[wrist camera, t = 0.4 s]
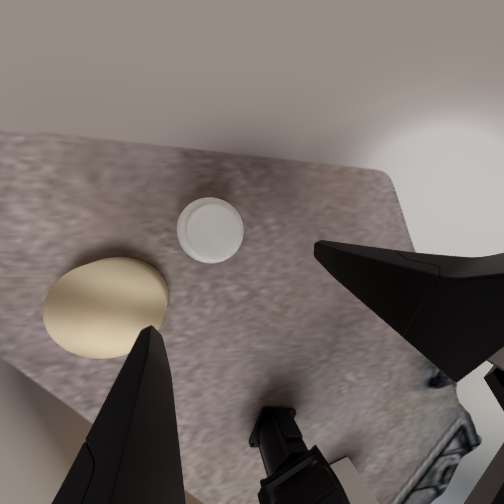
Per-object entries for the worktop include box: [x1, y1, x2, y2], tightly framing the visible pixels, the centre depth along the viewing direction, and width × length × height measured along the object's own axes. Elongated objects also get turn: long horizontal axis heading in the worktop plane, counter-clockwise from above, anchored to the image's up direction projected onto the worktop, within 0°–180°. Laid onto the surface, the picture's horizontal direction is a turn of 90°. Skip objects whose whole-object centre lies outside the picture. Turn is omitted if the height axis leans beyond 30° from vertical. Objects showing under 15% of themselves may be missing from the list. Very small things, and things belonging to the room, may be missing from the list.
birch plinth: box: [43, 257, 169, 359], centre depth 19 cm, size 10×10×3 cm
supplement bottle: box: [177, 197, 244, 263], centre depth 17 cm, size 6×6×10 cm
